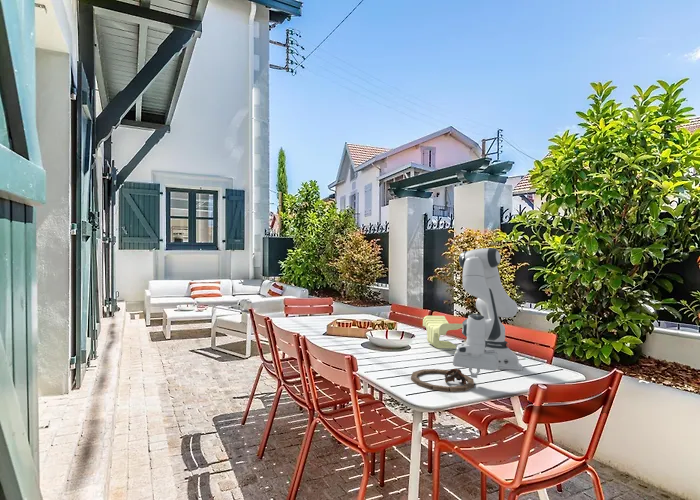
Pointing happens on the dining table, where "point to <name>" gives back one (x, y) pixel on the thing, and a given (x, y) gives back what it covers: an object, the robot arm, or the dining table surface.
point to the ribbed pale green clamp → (439, 330)
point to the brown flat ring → (440, 388)
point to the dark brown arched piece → (455, 376)
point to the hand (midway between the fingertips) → (474, 377)
